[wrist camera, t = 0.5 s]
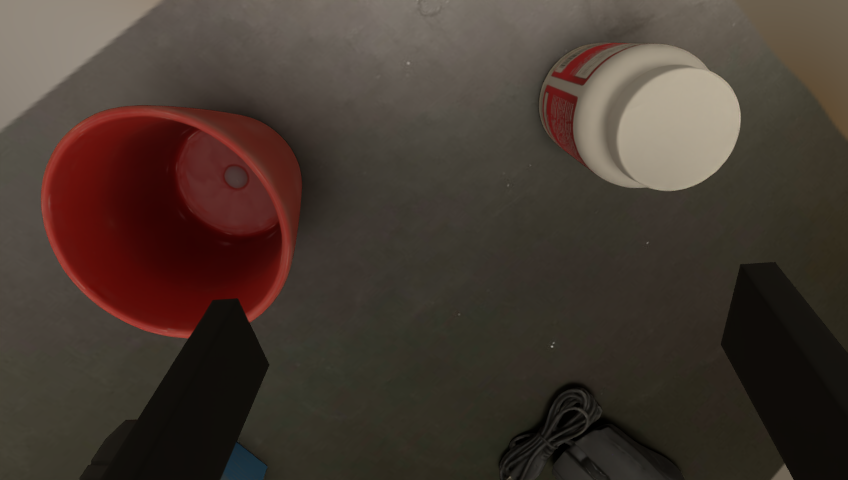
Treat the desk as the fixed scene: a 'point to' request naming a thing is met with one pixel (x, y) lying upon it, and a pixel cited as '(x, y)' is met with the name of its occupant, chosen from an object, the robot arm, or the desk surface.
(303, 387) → the desk surface
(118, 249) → the flower pot
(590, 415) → the computer mouse
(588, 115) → the pill bottle
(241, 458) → the perfume bottle
